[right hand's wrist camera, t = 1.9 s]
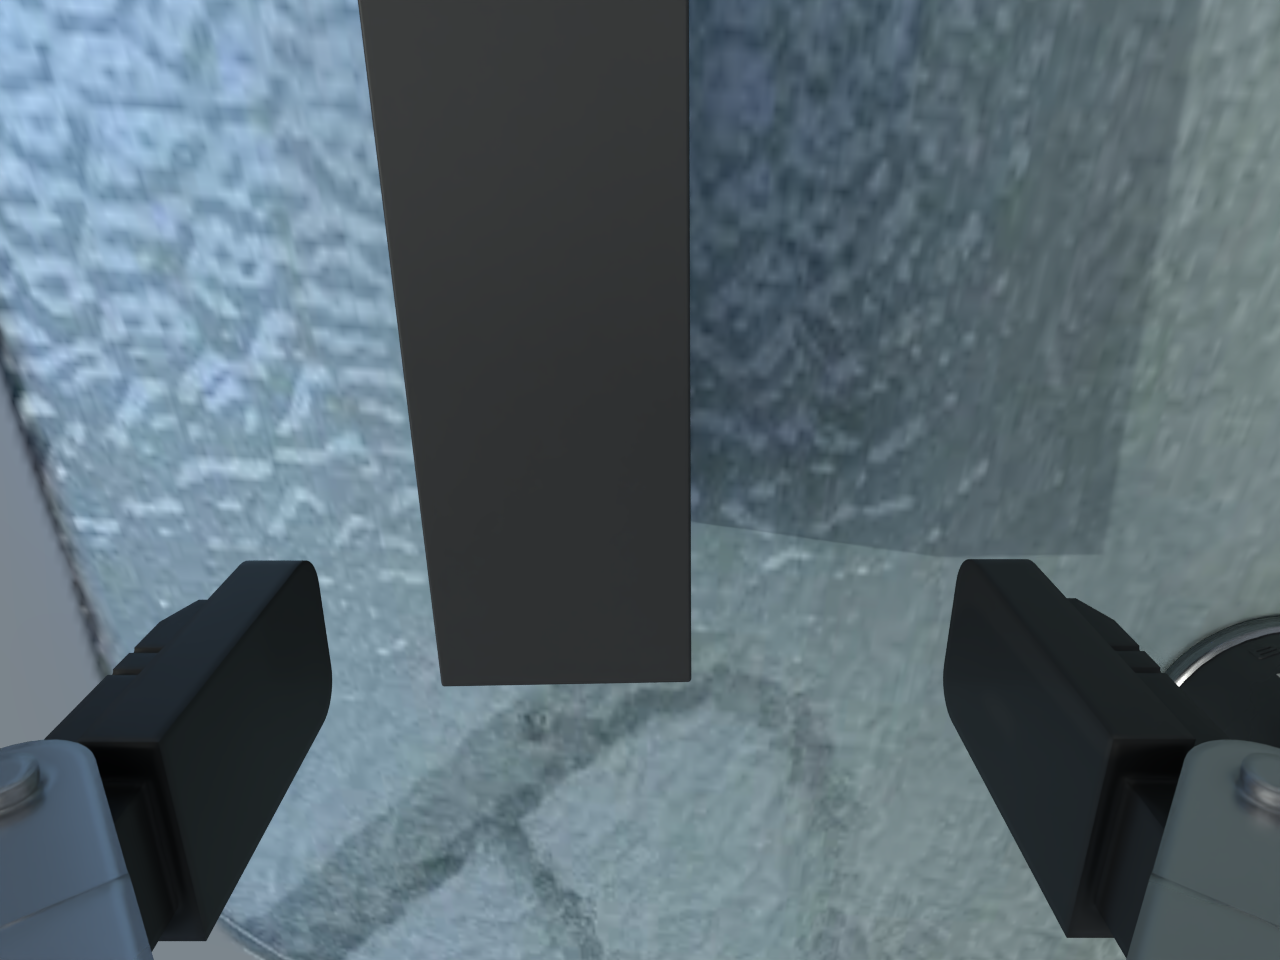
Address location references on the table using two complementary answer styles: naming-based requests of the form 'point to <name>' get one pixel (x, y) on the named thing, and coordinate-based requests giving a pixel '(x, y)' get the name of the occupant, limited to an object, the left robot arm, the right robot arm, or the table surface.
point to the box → (543, 326)
